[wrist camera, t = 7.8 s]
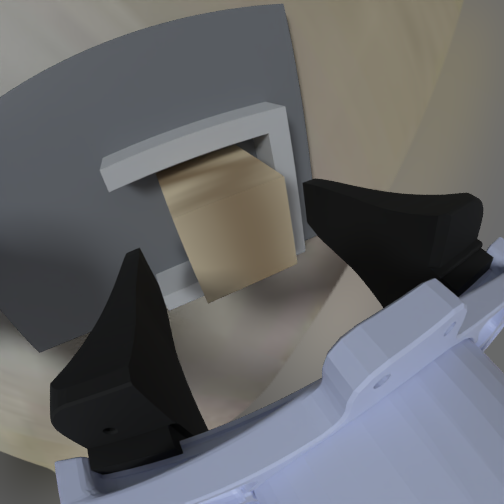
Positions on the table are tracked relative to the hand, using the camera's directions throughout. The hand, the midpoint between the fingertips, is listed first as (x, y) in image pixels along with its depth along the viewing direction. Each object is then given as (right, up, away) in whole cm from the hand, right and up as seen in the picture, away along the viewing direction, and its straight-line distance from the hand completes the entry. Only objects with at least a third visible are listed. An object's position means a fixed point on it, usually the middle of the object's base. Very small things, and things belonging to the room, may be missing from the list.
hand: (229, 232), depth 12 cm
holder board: (-6, +2, +1) cm, 6 cm away
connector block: (-1, +2, +3) cm, 4 cm away
